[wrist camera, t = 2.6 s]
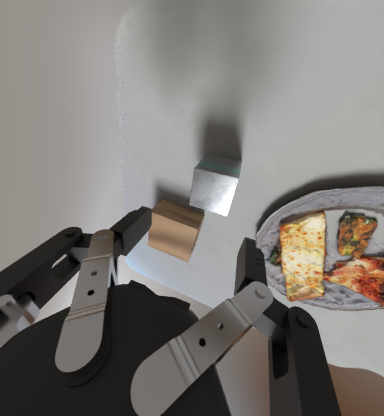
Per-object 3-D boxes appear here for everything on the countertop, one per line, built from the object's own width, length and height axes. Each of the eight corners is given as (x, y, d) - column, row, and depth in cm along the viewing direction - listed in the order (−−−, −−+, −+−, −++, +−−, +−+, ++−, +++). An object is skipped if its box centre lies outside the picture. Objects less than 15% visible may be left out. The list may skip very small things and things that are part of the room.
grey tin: (209, 153, 24) (194, 167, 18) (242, 160, 23) (239, 178, 17) (203, 182, 27) (188, 205, 20) (232, 190, 26) (226, 216, 20)
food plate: (406, 311, 27) (425, 334, 24) (259, 290, 36) (260, 305, 33) (486, 168, 17) (534, 178, 14) (252, 189, 26) (252, 198, 23)
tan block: (163, 198, 32) (150, 211, 28) (205, 214, 30) (197, 229, 26) (159, 231, 37) (147, 245, 33) (195, 245, 35) (187, 262, 31)
